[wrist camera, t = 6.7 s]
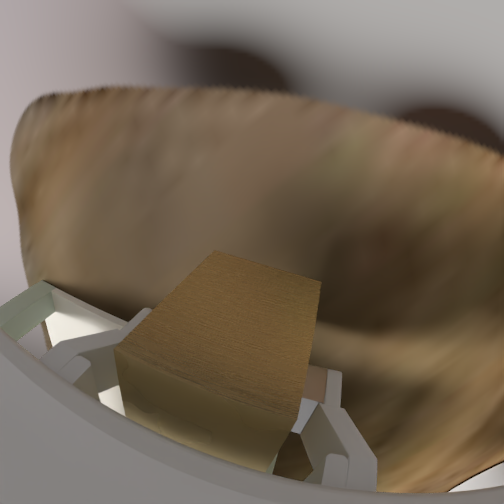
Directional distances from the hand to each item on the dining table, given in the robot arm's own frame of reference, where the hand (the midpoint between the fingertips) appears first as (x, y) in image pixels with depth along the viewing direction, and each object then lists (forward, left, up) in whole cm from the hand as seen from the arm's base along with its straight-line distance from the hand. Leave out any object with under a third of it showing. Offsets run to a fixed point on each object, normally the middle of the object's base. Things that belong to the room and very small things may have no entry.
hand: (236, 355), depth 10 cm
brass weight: (0, 0, -2) cm, 2 cm away
